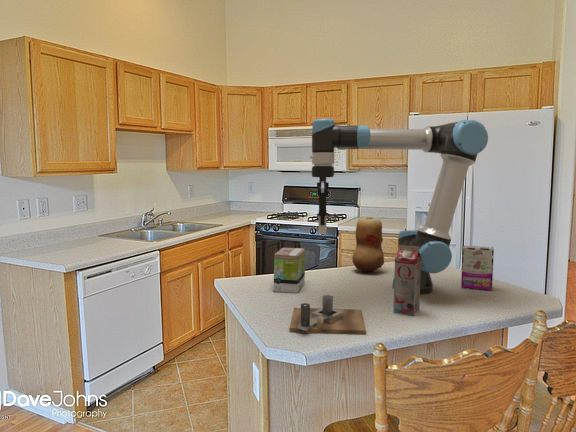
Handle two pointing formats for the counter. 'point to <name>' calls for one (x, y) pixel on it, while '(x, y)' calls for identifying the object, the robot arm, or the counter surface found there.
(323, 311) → the board
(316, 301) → the counter surface
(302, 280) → the tea box
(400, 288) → the juice carton
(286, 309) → the counter surface
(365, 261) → the butternut squash
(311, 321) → the square frame with handle
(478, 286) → the candy bar box
